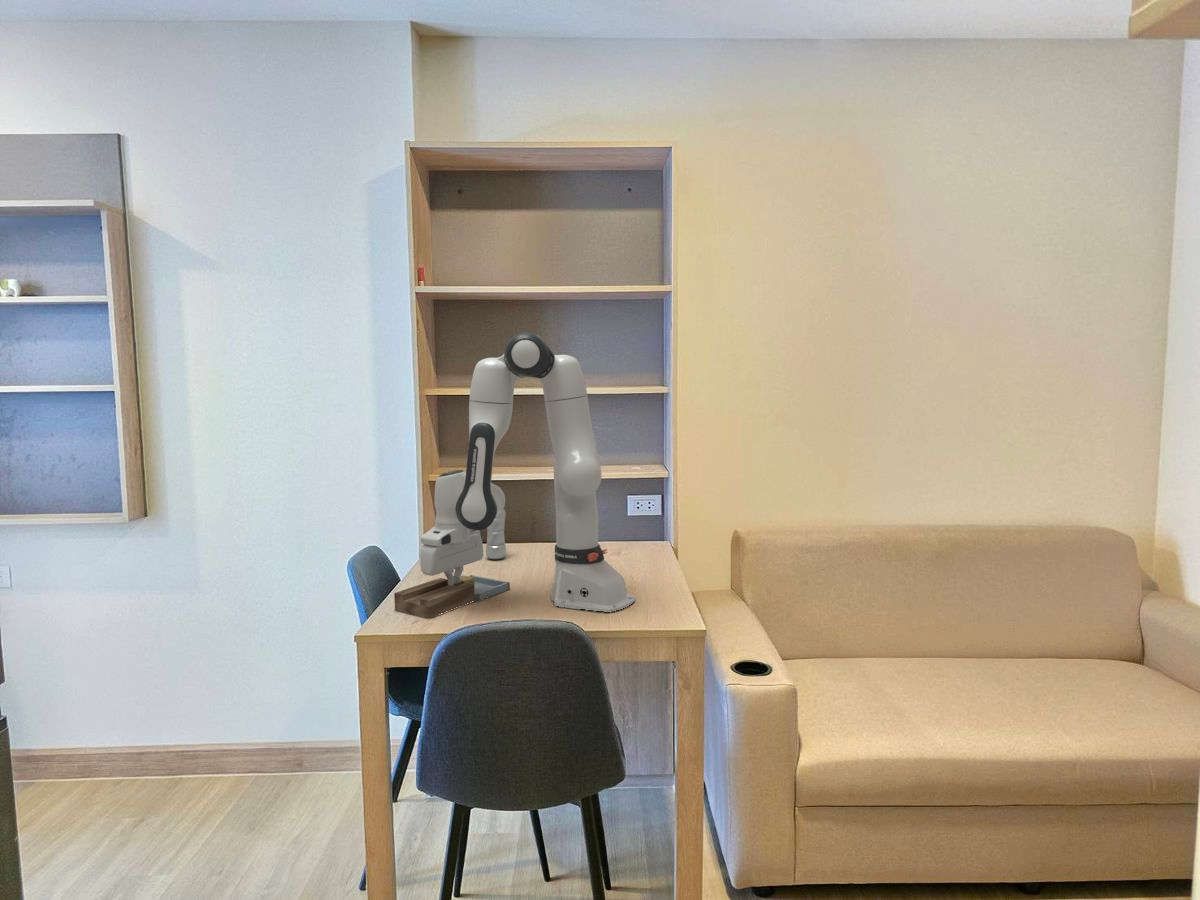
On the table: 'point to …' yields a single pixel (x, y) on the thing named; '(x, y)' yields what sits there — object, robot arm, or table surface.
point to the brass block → (466, 581)
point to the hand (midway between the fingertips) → (454, 584)
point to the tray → (488, 587)
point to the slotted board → (433, 598)
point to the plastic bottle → (496, 538)
